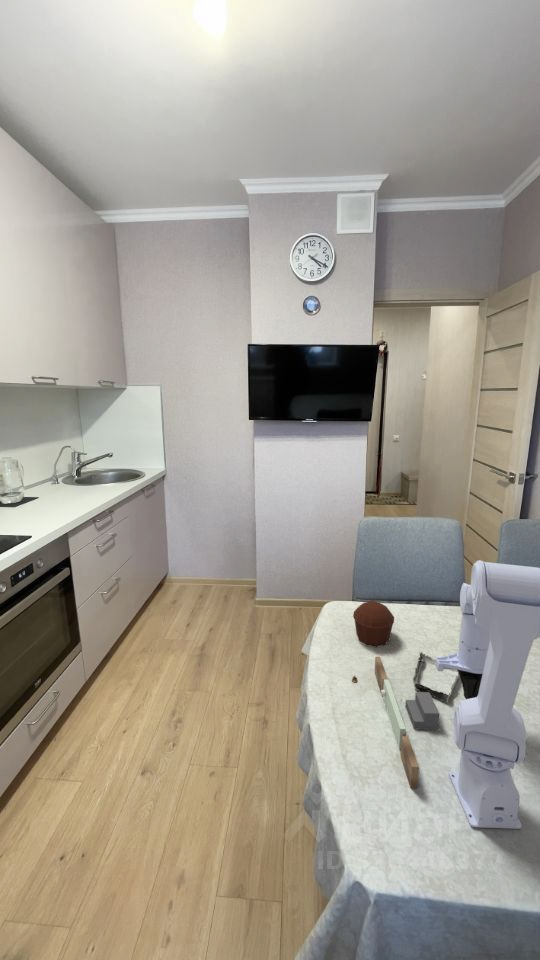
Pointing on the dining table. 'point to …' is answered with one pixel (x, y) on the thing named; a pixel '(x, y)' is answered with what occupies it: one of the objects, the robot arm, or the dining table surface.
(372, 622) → the muffin
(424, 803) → the dining table surface
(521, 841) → the dining table surface
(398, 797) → the dining table surface
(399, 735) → the door
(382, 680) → the brown wooden plank
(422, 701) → the grey stepped block
